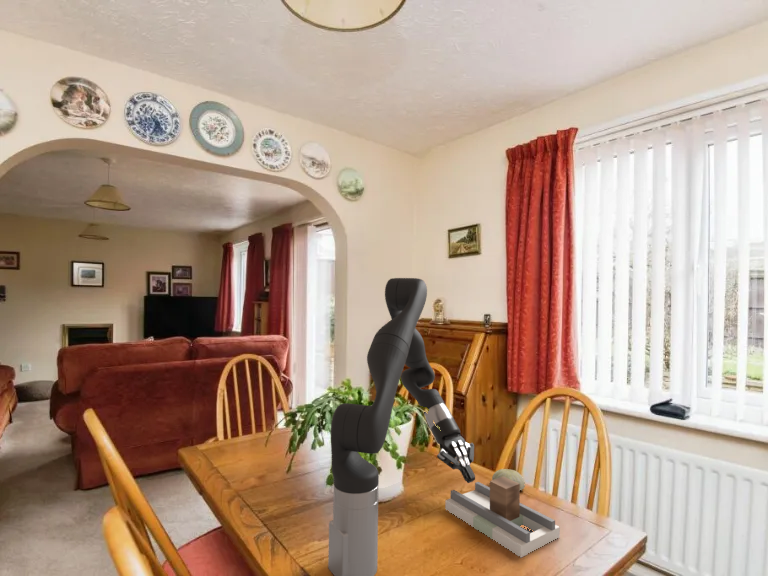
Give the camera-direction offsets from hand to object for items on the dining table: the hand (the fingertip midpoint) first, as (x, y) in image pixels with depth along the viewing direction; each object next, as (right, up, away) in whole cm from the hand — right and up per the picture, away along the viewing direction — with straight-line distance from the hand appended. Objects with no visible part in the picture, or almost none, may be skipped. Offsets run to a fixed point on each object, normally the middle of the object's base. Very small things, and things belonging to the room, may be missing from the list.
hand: (471, 481), depth 111 cm
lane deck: (+5, -7, -8) cm, 12 cm away
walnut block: (+6, -4, -9) cm, 12 cm away
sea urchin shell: (+13, -8, +12) cm, 19 cm away
